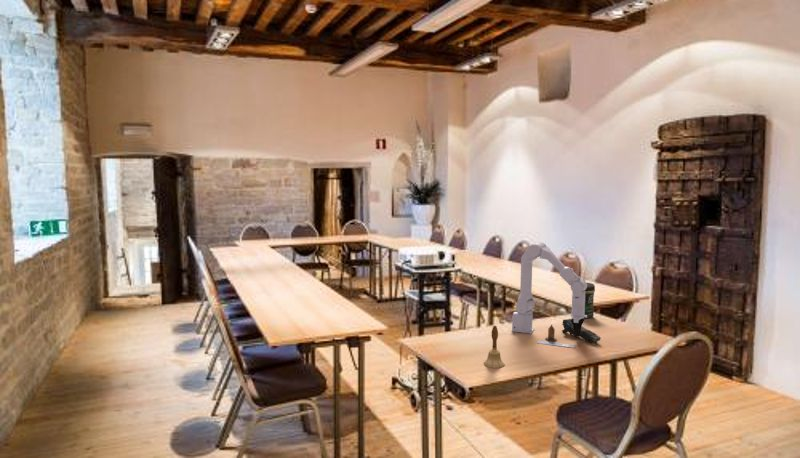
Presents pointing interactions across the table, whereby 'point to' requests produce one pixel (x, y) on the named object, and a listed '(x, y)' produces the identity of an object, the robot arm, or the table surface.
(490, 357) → the hand bell
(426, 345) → the table surface
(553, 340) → the coaster
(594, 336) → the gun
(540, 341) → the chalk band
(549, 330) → the awl
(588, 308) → the coffee jar
